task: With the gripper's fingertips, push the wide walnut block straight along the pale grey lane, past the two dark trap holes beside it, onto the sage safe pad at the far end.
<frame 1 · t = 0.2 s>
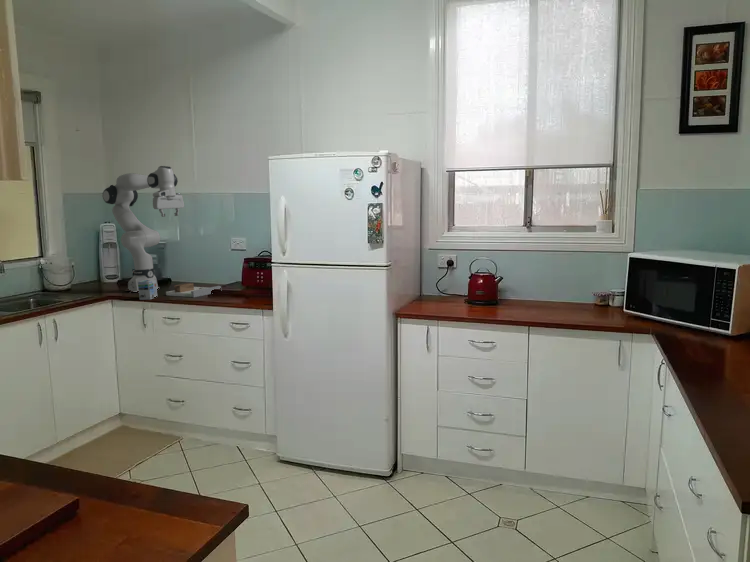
hand: (170, 216, 348), 47 cm above the countertop, tool pointing down, fingers open, 8 cm apart
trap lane: (189, 294, 346), on the countertop
walnut block: (184, 290, 348), point 2 cm above the countertop, touching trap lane
light bulb box: (148, 298, 339), on the countertop
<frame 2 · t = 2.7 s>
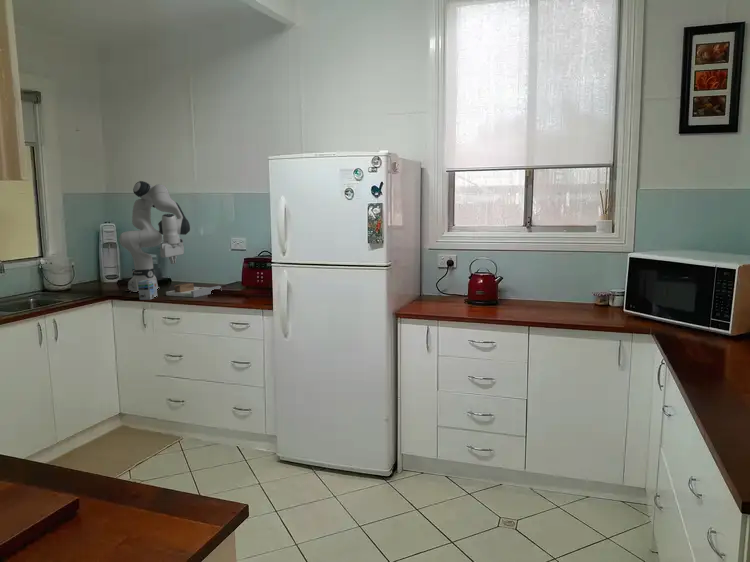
hand: (173, 263, 350), 19 cm above the countertop, tool pointing down, fingers closed
nothing on the countertop moved.
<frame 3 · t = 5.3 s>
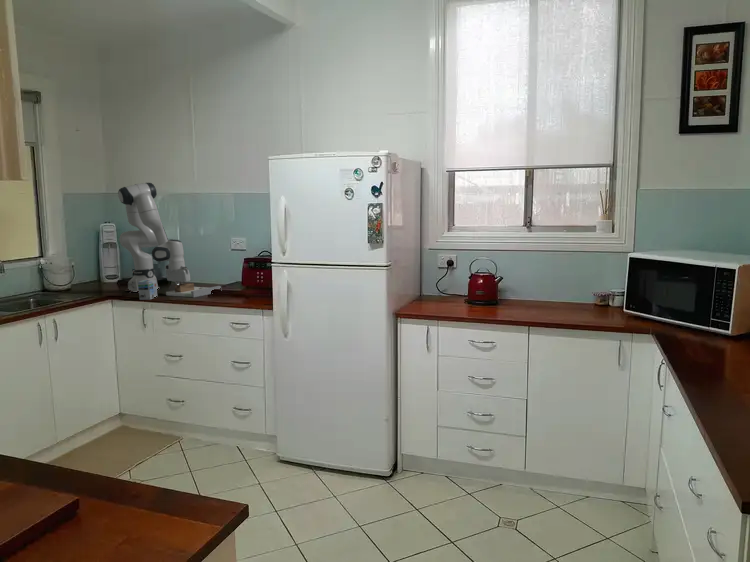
hand: (179, 288, 350), 3 cm above the countertop, tool pointing down, fingers closed
walnut block: (184, 290, 348), point 2 cm above the countertop, touching gripper
everything else where it was.
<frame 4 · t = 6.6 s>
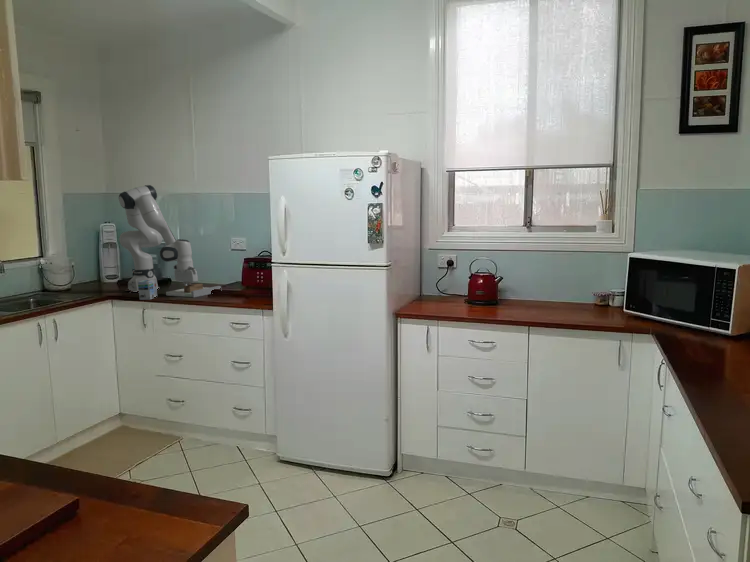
hand: (187, 289, 346), 3 cm above the countertop, tool pointing down, fingers closed
walnut block: (193, 291, 344), point 2 cm above the countertop, touching gripper, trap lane
everything else where it was.
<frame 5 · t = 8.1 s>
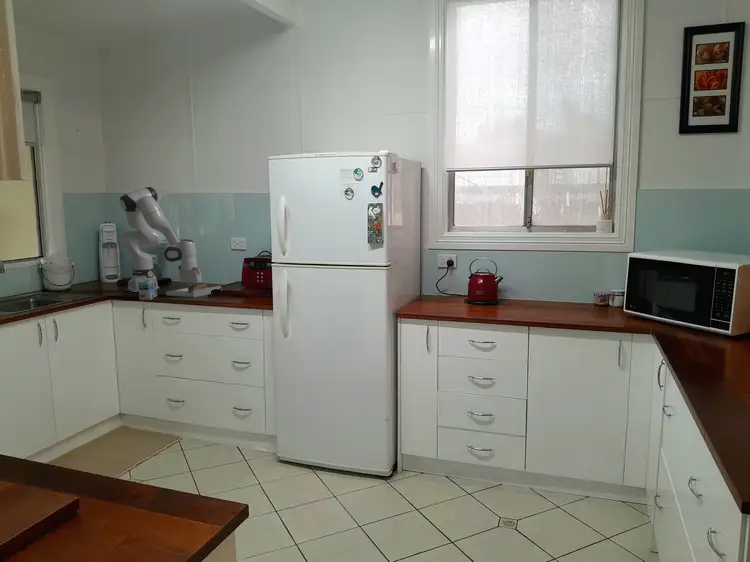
hand: (191, 289, 344), 3 cm above the countertop, tool pointing down, fingers closed
walnut block: (197, 291, 342), point 2 cm above the countertop, touching gripper, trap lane
everything else where it was.
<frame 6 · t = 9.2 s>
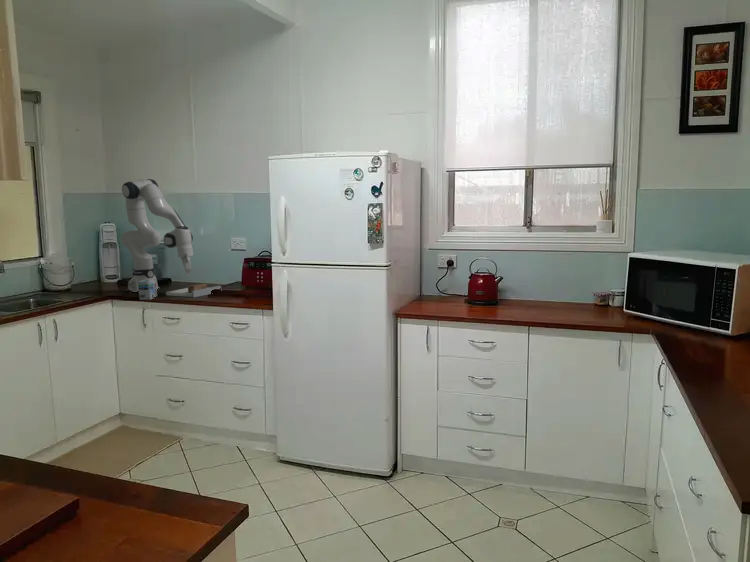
hand: (188, 275, 348), 11 cm above the countertop, tool pointing down, fingers closed
walnut block: (197, 291, 342), point 2 cm above the countertop, touching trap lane
everything else where it was.
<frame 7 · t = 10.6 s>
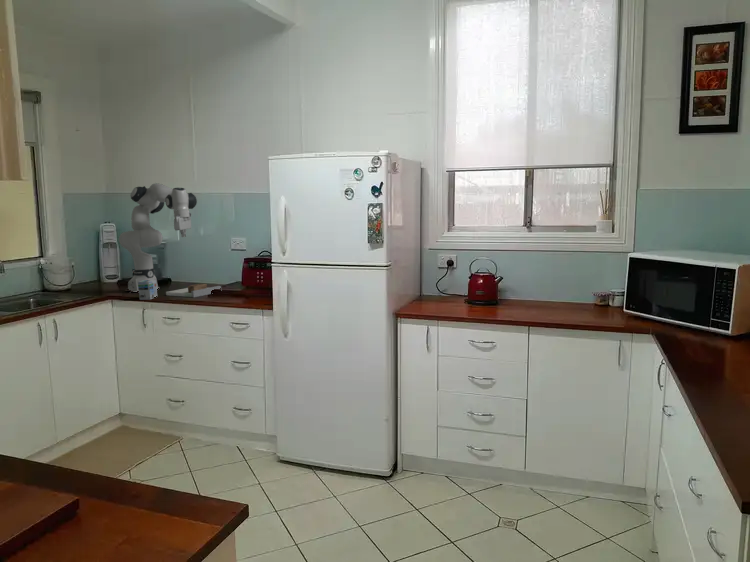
hand: (183, 237, 353), 34 cm above the countertop, tool pointing down, fingers closed
nothing on the countertop moved.
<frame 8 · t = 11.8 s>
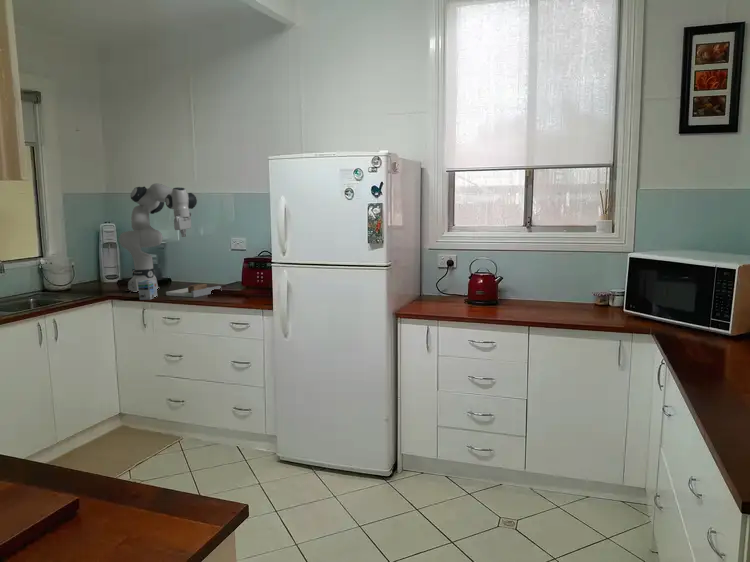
hand: (183, 236, 353), 34 cm above the countertop, tool pointing down, fingers closed
nothing on the countertop moved.
at the end: walnut block inside the target area (0.8 cm from its centre), point 2.0 cm above the countertop; walnut block tilted 0° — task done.
